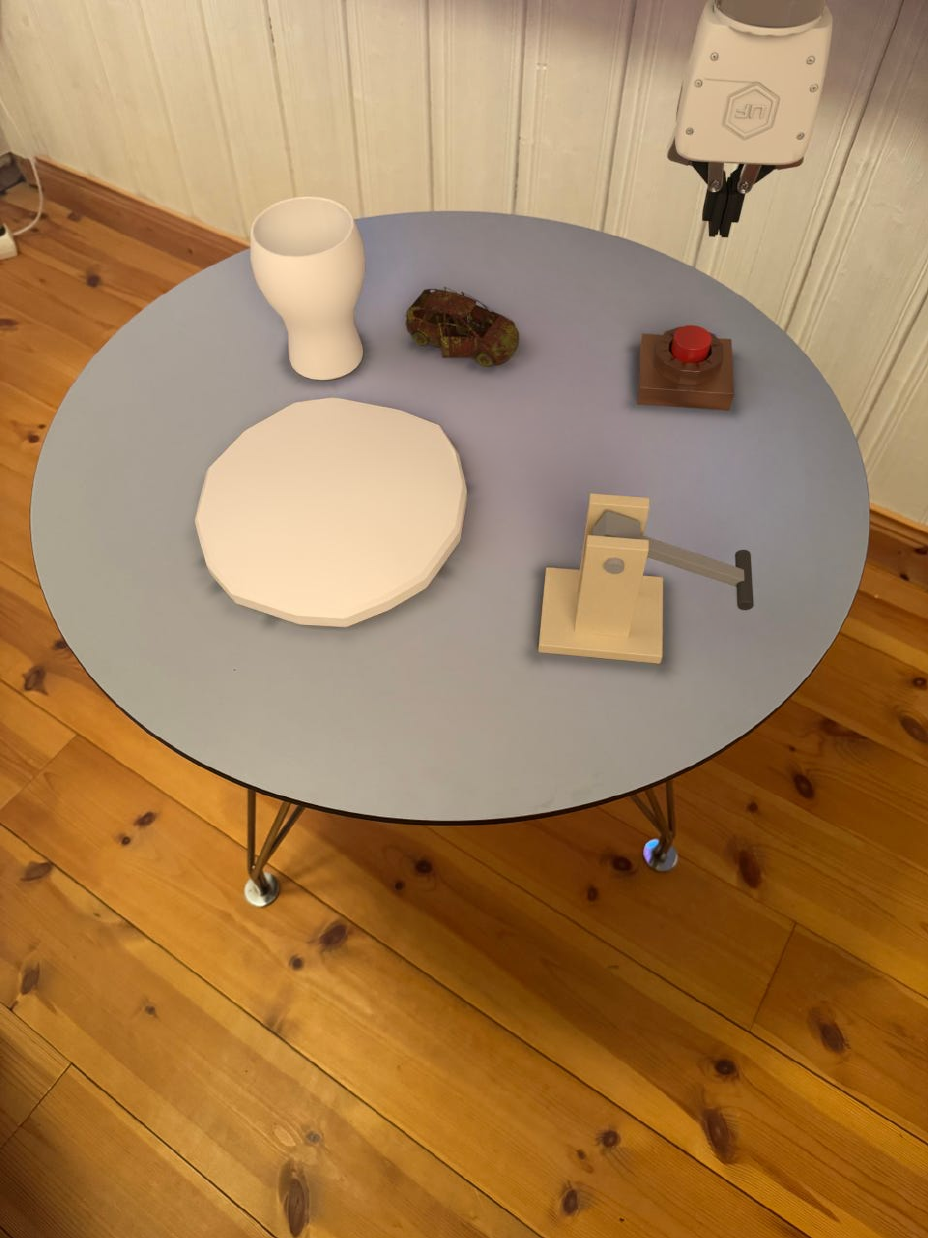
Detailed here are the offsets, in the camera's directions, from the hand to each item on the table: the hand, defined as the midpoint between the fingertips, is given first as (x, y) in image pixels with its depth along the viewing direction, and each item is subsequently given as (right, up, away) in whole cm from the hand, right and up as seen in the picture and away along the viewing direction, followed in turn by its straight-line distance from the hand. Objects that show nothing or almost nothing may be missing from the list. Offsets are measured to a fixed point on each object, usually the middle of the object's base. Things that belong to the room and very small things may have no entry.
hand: (717, 226), depth 79 cm
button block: (0, -9, +14) cm, 17 cm away
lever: (-6, -30, -9) cm, 31 cm away
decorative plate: (-34, -24, +6) cm, 42 cm away
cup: (-36, -6, +18) cm, 41 cm away
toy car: (-22, -5, +18) cm, 29 cm away
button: (0, -7, +11) cm, 13 cm away
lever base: (-10, -34, -2) cm, 35 cm away
